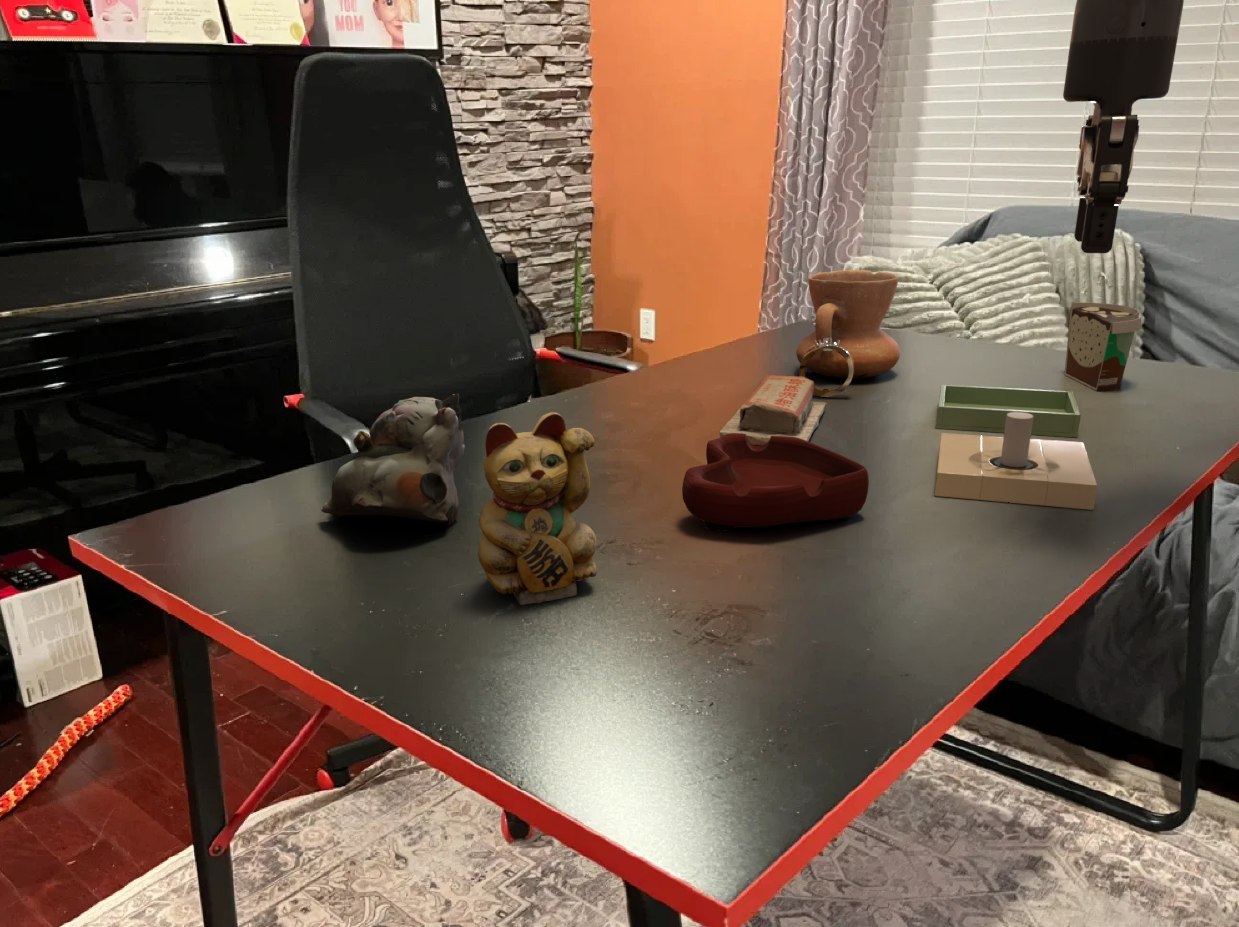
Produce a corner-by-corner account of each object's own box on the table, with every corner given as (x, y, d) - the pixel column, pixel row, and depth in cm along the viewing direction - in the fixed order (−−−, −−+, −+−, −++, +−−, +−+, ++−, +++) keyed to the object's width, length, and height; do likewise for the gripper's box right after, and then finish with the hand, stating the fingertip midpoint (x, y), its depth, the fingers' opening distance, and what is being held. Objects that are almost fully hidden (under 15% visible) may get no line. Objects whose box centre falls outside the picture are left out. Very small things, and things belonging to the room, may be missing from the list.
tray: (1069, 412, 126) (1072, 391, 125) (1077, 437, 116) (1080, 414, 115) (938, 404, 131) (941, 384, 130) (936, 428, 121) (938, 406, 120)
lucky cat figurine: (306, 512, 101) (335, 378, 102) (417, 536, 107) (443, 409, 108) (352, 514, 88) (385, 360, 89) (475, 542, 94) (504, 396, 95)
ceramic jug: (829, 357, 159) (835, 264, 154) (918, 368, 149) (928, 270, 144) (768, 379, 147) (772, 280, 141) (861, 394, 137) (869, 287, 132)
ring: (796, 398, 136) (799, 339, 133) (801, 392, 139) (804, 334, 136) (849, 402, 134) (854, 341, 131) (853, 396, 136) (858, 337, 133)
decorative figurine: (498, 618, 78) (487, 432, 73) (464, 579, 85) (451, 406, 80) (610, 593, 82) (607, 413, 76) (568, 557, 89) (562, 390, 83)
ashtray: (858, 553, 87) (862, 499, 86) (673, 534, 93) (673, 483, 91) (872, 487, 103) (876, 439, 101) (713, 474, 108) (714, 429, 107)
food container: (1149, 392, 133) (1163, 316, 129) (1102, 393, 133) (1114, 317, 129) (1103, 371, 144) (1114, 300, 141) (1059, 372, 145) (1070, 301, 141)
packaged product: (750, 370, 132) (828, 374, 128) (748, 406, 133) (826, 411, 130) (719, 404, 116) (807, 410, 113) (718, 445, 118) (805, 452, 114)
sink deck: (1079, 464, 107) (1083, 442, 106) (1093, 510, 95) (1097, 485, 94) (938, 454, 112) (941, 432, 111) (934, 496, 100) (937, 472, 99)
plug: (1029, 482, 103) (1039, 411, 100) (1030, 493, 100) (1041, 421, 97) (990, 479, 104) (999, 409, 101) (991, 490, 101) (1000, 418, 98)
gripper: (1193, 26, 72) (1152, 258, 78) (1165, 38, 85) (1132, 237, 90) (1076, 33, 75) (1045, 256, 81) (1065, 43, 87) (1039, 237, 93)
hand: (1091, 246), depth 86 cm, fingers open, 8 cm apart
